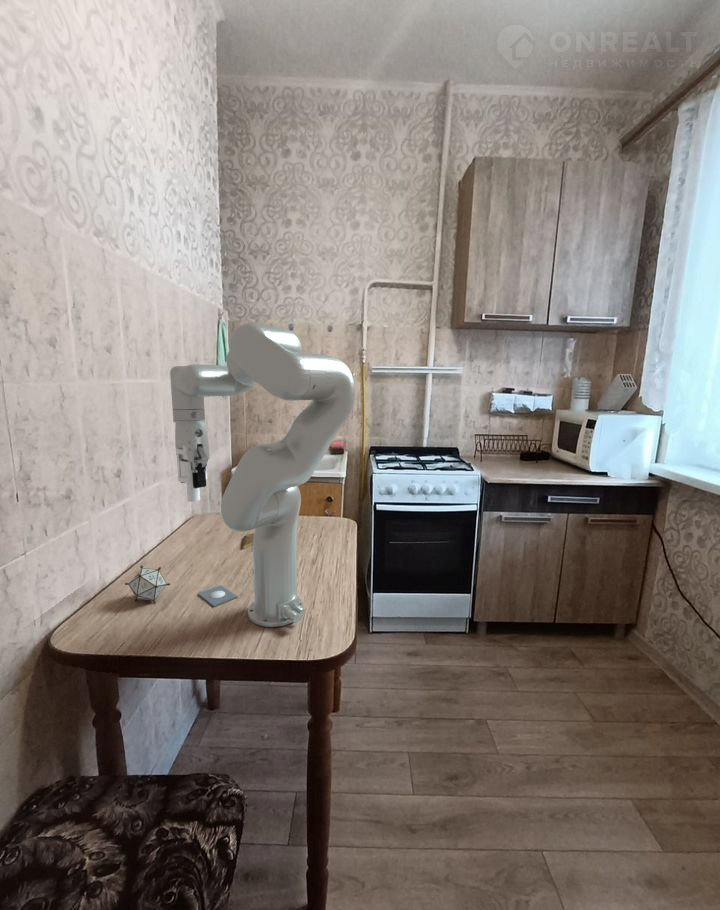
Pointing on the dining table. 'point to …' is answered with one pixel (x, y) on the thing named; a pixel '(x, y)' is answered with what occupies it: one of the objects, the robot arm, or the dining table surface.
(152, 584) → the game die
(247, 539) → the shard
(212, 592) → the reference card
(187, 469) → the white cylindrical housing
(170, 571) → the dining table surface
